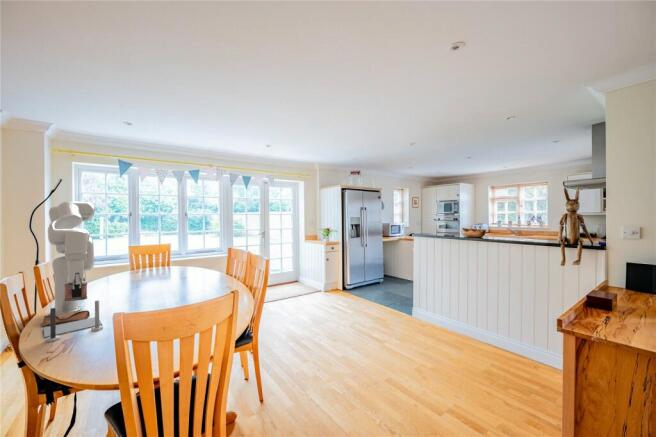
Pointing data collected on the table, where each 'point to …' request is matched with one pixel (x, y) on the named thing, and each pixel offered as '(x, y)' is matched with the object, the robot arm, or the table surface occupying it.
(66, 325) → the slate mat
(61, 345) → the table surface
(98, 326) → the grey post
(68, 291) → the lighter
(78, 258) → the robot arm
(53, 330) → the dark grey post
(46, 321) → the sunglasses case
